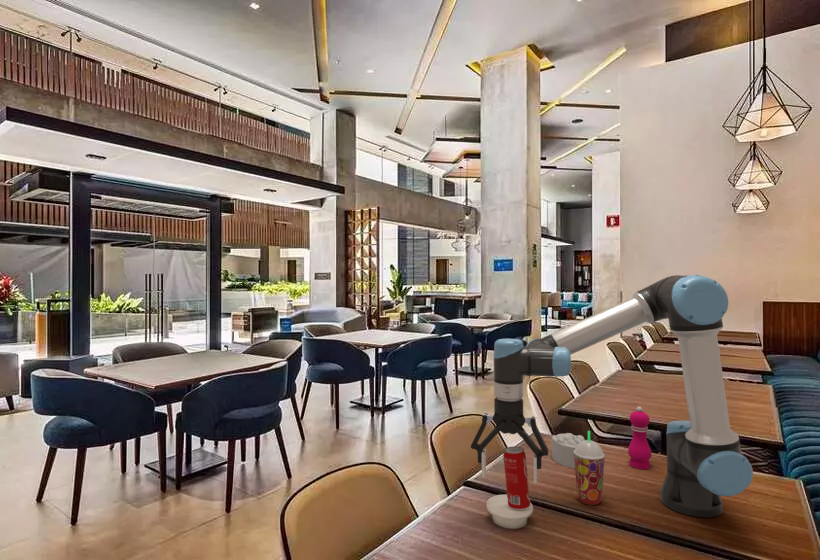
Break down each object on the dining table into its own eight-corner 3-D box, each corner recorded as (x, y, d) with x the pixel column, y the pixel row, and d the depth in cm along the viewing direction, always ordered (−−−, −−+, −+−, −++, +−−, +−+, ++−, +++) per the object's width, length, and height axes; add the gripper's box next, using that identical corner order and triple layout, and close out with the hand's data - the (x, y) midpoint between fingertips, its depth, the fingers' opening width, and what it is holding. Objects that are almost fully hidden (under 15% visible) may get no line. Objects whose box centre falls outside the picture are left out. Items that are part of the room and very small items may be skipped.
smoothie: (582, 491, 144) (581, 424, 144) (610, 500, 138) (609, 431, 138) (568, 500, 138) (568, 431, 138) (597, 510, 132) (596, 438, 132)
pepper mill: (655, 470, 159) (655, 409, 159) (633, 470, 159) (633, 409, 159) (645, 461, 166) (645, 403, 166) (624, 461, 166) (624, 403, 166)
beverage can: (531, 511, 124) (529, 453, 124) (506, 511, 124) (504, 453, 124) (528, 500, 130) (526, 445, 130) (504, 500, 130) (502, 445, 130)
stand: (533, 511, 132) (533, 497, 132) (531, 534, 120) (531, 518, 120) (489, 506, 135) (489, 492, 135) (483, 527, 124) (483, 512, 124)
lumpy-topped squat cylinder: (574, 453, 175) (574, 429, 174) (595, 467, 162) (595, 441, 162) (548, 456, 172) (548, 431, 172) (567, 470, 160) (567, 444, 160)
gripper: (459, 398, 127) (460, 478, 128) (557, 404, 120) (558, 489, 121) (464, 391, 135) (465, 467, 135) (557, 397, 128) (558, 477, 128)
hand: (509, 478), depth 128 cm, fingers open, 13 cm apart
